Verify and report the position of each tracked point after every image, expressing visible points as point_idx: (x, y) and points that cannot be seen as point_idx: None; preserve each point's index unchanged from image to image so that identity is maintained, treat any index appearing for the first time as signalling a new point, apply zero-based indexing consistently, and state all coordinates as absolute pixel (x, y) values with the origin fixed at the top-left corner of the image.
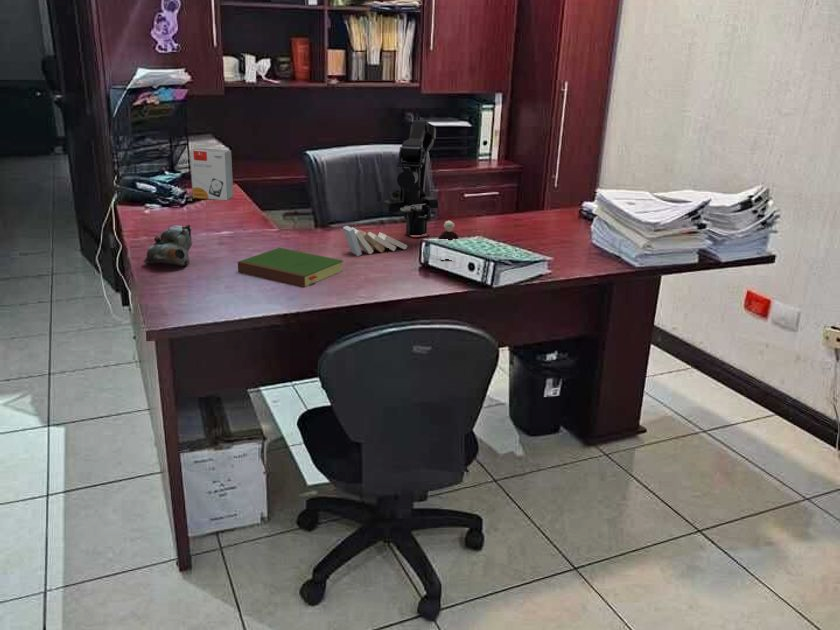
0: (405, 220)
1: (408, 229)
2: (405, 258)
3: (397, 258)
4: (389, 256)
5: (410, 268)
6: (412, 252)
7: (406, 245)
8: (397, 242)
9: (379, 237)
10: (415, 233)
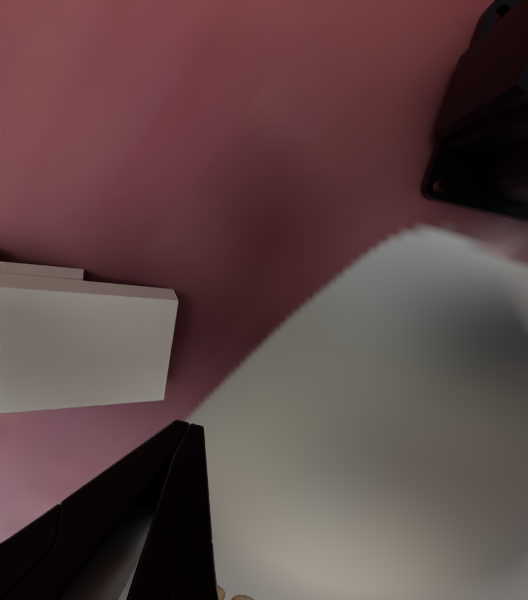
0: (67, 501)
1: (176, 421)
2: (64, 486)
3: (26, 463)
4: (4, 415)
5: None
6: None
7: (152, 399)
8: (59, 400)
9: None
10: (486, 169)
